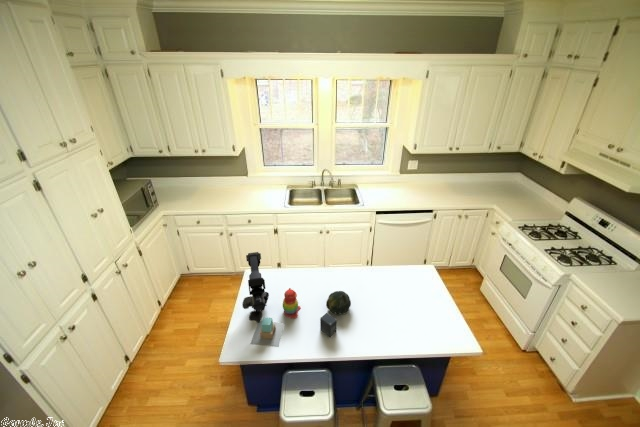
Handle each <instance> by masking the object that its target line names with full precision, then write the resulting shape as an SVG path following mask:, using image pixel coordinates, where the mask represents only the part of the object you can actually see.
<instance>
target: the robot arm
mask: <svg viewBox="0 0 640 427" xmlns="http://www.w3.org/2000/svg"><path fill="white" fill-rule="evenodd" d="M261 255H262V254H261V253H259V251H255V252H249V253H247V254H246V255H245V258H246V262H247V264H248V266H249V267H250V274H249V275H248V278H249V279H248V280H247V284H248V292H249V296H245V297H244V298H243V301H242V302H241V304H242V305H241V306H242V308H243V310H247V309H249V308H250V307H251V309H253V310H252V311H250V312H249V315H248V320H249V321H253V322H256V323H257V324H258V323H260V321H262V319H263V312H262V311H264V310H265V308H266V307H267V305H268V304H267V303H268V299H269V296H270V294H269V292H267V291H265V289H266V288H267V287H266V283H265V282H266V281H265V279H264V278H263V277H262V273H261V272H260V269H259V268H260V267H259V266H260V265H261V260H262V256H261Z"/></svg>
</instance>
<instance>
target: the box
mask: <svg viewBox="0 0 640 427" xmlns="http://www.w3.org/2000/svg"><path fill="white" fill-rule="evenodd" d="M319 320H320V321H319V323H320V324H319V327H320V328H319V330H320V332H322V333H323V334H324V335H326V337H328V338H330V339H331V338H332V337H333V336H334V335H335V334H336V333H337V323H338V320H337V319H336V318H335V317H333V316H332V315H331V314H329V313H328V312H326V313H324V315H322V316H321V317H320V318H319Z"/></svg>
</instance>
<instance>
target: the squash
mask: <svg viewBox="0 0 640 427" xmlns="http://www.w3.org/2000/svg"><path fill="white" fill-rule="evenodd" d="M325 303H326V305H325V306H326V308H327V309H328V311H329V313H331V314H333V315H337V316H338V315H344V314H347V313H349V311H350V307H351V305H352V302H351V298H350V296H349V294H348V293H346V292H345V291H344V290H337V291H333V292H331V293H330V294H329V295H328V298H327V299H326V302H325Z"/></svg>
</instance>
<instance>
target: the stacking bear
mask: <svg viewBox="0 0 640 427" xmlns="http://www.w3.org/2000/svg"><path fill="white" fill-rule="evenodd" d="M297 296H298V294H297V292H296V291H295V290H294V289H291V287H289V288H288V289H287V290H285V292H284V298H283V300H282V308H283V314H284V316H286V317H287V318H289V319H292V320H295V319H298V316H299V315H298V313H299V312H300V310H301V309H302V308H301V306H300V305H299V301H298V300H297Z"/></svg>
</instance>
